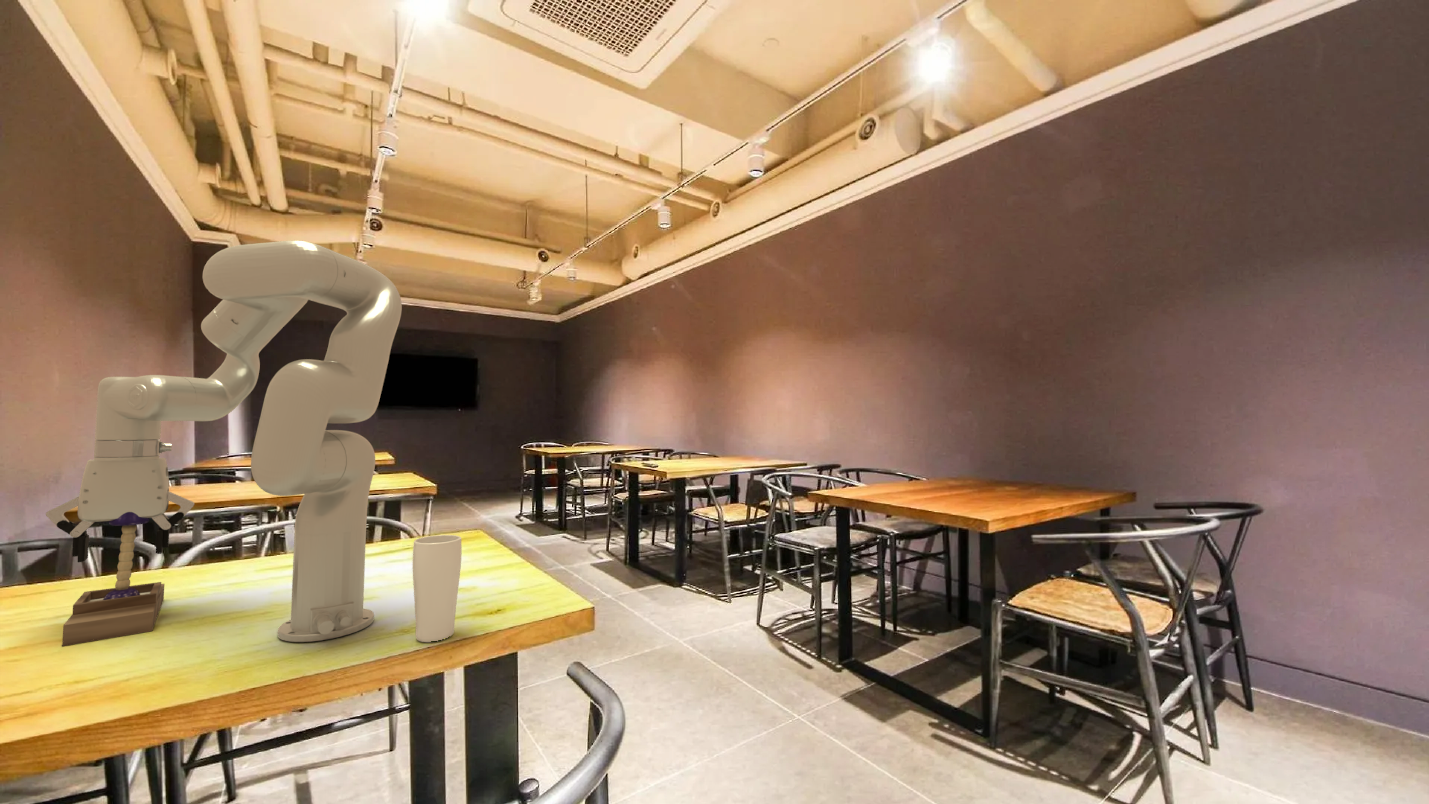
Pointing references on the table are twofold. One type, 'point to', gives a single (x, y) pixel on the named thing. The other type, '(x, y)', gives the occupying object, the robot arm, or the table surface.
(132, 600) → the display stand
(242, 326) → the robot arm
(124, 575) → the toy lamp
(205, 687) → the table surface
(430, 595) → the drinking glass
